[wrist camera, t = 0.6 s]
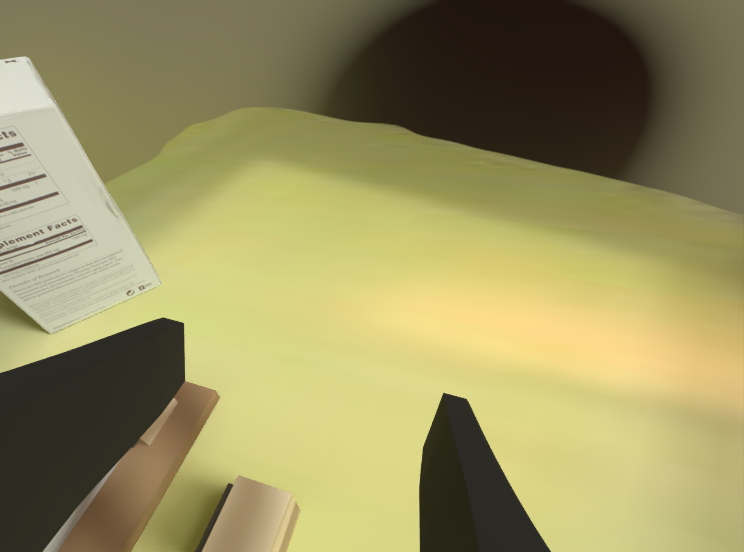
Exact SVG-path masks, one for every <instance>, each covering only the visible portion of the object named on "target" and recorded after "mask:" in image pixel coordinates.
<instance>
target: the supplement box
mask: <svg viewBox="0 0 744 552" xmlns="http://www.w3.org/2000/svg"><path fill="white" fill-rule="evenodd" d="M161 284H162V283H161V280H160V278H159V276H158V274H157V272H156V270H155V269H154V267H153V265H152V263H151V262H150V260H149V258H148V256H147V255H146V253H145V251H144V250H143V248H142V246H141V244H140V243H139V241H138V239H137V237H136V236H135V234H134V232H133V231H132V229H131V227H130V226H129V224H128V222H127V221H126V219H125V217H124V216H123V214H122V213H121V211H120V209H119V208H118V206H117V205H116V203H115V201H114V200H113V198H112V196H111V195H110V193H109V192H108V190H107V188H106V187H105V185H104V184H103V182H102V181H101V179H100V177H99V176H98V174H97V172H96V171H95V169H94V168H93V166H92V164H91V162H90V161H89V159H88V157H87V155H86V153H85V152H84V150H83V148H82V146H81V145H80V143H79V141H78V139H77V137H76V136H75V134H74V132H73V130H72V129H71V127H70V125H69V123H68V122H67V120H66V118H65V116H64V115H63V113H62V111H61V109H60V108H59V106H58V104H57V103H56V101H55V99H54V98H53V96H52V95H51V93H50V92H49V90H48V88H47V87H46V85H45V84H44V82H43V80H42V79H41V77H40V75H39V74H38V72H37V71H36V69H35V68H34V65H33V64H32V62H31V60H30V59H29V58H28V57H18V58H10V59H3V60H0V291H1V292H2V293H3V294H4V295H6V296H7V297H8V298H9V299H10V300H11V301H12V302H14V303H15V304H16V305H17V306H18V307H19V308H20V309H22V310H23V311H24V312H25V313H26V314H27V315H29V316H30V317H31V318H32V319H33V320H34V321H35V322H37V323H38V324H39V325H40V326H41V327H42V328H43V329H45V330H46V331H47V332H48V333H49V334H52V333H55V332H57V331H59V330H62V329H64V328H66V327H68V326H71V325H73V324H75V323H77V322H80V321H82V320H84V319H86V318H89V317H91V316H93V315H95V314H97V313H100V312H102V311H104V310H106V309H109V308H111V307H113V306H115V305H118V304H120V303H122V302H124V301H127V300H129V299H131V298H133V297H135V296H138V295H140V294H142V293H144V292H146V291H149V290H151V289H153V288H155V287H158V286H160V285H161Z"/></svg>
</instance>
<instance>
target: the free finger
mask: <svg viewBox="0 0 744 552" xmlns="http://www.w3.org/2000/svg"><path fill="white" fill-rule="evenodd" d="M300 511H301V510H300V509H299V507H298V505H297V503H296V501H295V500H294V498H293V496H292V494H291V493H289V492H286V491H283V490H280V489H278V488H275V487H272V486H269V485H266V484H263V483H260V482H257V481H254V480H251V479H248V478H245V477H242V476H239V475H238V476H237V479H236V481H235V483H234V485H233V484H230V483H228V485H227V487H226V489H225V491H224V493H223V495H222V498H221V500H220V502H219V504H218V506H217V508H216V510H215V512H214V514H213V516H212V518H211V520H210V522H209V524H208V527H207V529H206V531H205V533H204V535H203V537H202V539H201V541H200V543H199V545H198V547H197V549H196V551H195V552H286V551H287V548H288V545H289V542H290V540H291V537H292V534H293V531H294V528H295V525H296V522H297V519H298V517H299V514H300Z"/></svg>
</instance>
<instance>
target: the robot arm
mask: <svg viewBox="0 0 744 552" xmlns="http://www.w3.org/2000/svg"><path fill="white" fill-rule="evenodd" d="M184 382H185V353H184V323H182V322H178V321H174V320H170V319H167V318H160V319H156V320H153V321H150V322H147V323H144V324H141V325H139V326H136V327H133V328H130V329H127V330H125V331H122V332H119V333H117V334H114V335H111V336H108V337H106V338H103V339H100V340H97V341H95V342H92V343H89V344H86V345H83V346H81V347H78V348H75V349H72V350H70V351H67V352H64V353H61V354H58V355H55V356H52V357H49V358H46V359H43V360H39V361H36V362H33V363H30V364H27V365H24V366H21V367H18V368H15V369H12V370H9V371H6V372H2V373H0V552H43V551H44V549H45V548H46V547H47V546H48V544H49V543H50V542H51V540H52V539H53V538H54V537H55V535H56V534H57V533H58V531H59V530H60V529H61V528H62V526H63V525H64V524H65V522H66V521H67V520H68V519H69V517H70V516H71V515H72V513H73V512H74V511H75V510H76V508H77V507H78V506H79V505H80V504H81V503H82V501H83V500H84V499H85V498H86V497H87V496H88V494H89V493H90V492H91V491H92V490H93V489H94V488H95V486H96V485H97V484H98V483H99V482H100V481H101V480H102V479H103V478H104V477H105V476H106V475H107V473H108V472H109V471H110V470H111V469H112V468H113V467H114V466H115V465H116V464H117V463H118V461H119V460H120V459H121V458H122V457H123V456H124V455H125V454H126V453H127V452H128V451H129V450H130V448H131V447H132V446H133V445H134V444H135V443H136V442H137V441H138V440H139V439H140V438H141V436H142V435H143V434H144V433H145V432H146V431H147V430H148V429H149V428H150V426H151V425H152V424H153V423H154V422H155V421H156V420H157V419H158V418H159V416H160V415H161V414H162V413H163V412H164V410H165V409H166V407H167V406H168V405H169V403H170V402H171V401H172V399H173V398H174V396H175V395H176V394H177V392H178V391H179V389H180V388H181V386H182V385H183V383H184ZM419 509H420V552H551V551H550V550H549V548H548V547H547V545H546V544H545V542H544V540H543V539H542V537H541V536H540V534H539V533H538V531H537V529H536V528H535V526H534V525H533V523H532V521H531V520H530V518H529V516H528V515H527V513H526V511H525V510H524V508H523V506H522V505H521V503H520V501H519V499H518V498H517V496H516V494H515V492H514V491H513V489H512V487H511V485H510V484H509V482H508V480H507V478H506V476H505V474H504V472H503V471H502V469H501V467H500V465H499V463H498V461H497V459H496V458H495V456H494V454H493V452H492V450H491V448H490V446H489V444H488V442H487V440H486V438H485V436H484V434H483V432H482V429H481V427H480V425H479V423H478V421H477V419H476V417H475V415H474V413H473V410H472V408H471V406H470V404H469V402H468V401H467V399H465V398H461V397H457V396H453V395H450V394H446V393H443V396H442V398H441V401H440V404H439V406H438V409H437V412H436V414H435V417H434V420H433V422H432V425H431V428H430V430H429V433H428V436H427V438H426V441H425V444H424V446H423V454H422V463H421V474H420V485H419Z"/></svg>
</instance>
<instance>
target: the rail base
mask: <svg viewBox="0 0 744 552" xmlns="http://www.w3.org/2000/svg"><path fill="white" fill-rule="evenodd" d="M219 398H220V397H219V395H218V394H217V392H216V390H212V389H209V388H206V387H202V386H199V385H196V384H193V383H189V382H186V381H185V382H184V383H183V385H182V386H181V388H180V389H179V391H178V392H177V394H176V395H175V396H174V398H173V399H172V401H171V402H170V403H169V405H168V406H167V407H166V409H165V410H164V412H163V413H162V414H161V415H160V416H159V418H158V419H157V420H156V421H155V422H154V423H153V424H152V425H151V426H150V428H149V429H148V430H147V431H146V432H145V433H144V434H143V435H142V436H141V438H140V439H139V440H138V441H137V442H136V443H135V444H134V445H133V446H132V447H131V448H130V450H129V451H128V452H127V453H126V454H125V455H124V456H123V457H122V458H121V459H120V460H119V461H118V463H117V464H116V465H115V466H114V467H113V468H112V469H111V470H110V471H109V472H108V473H107V475H106V476H105V477H104V478H103V479H102V480H101V481H100V482H99V483H98V484H97V485H96V486H95V488H94V489H93V490H92V491H91V492H90V493H89V494H88V496H87V497H86V498H85V499H84V500H83V501H82V503H81V504H80V505H79V506H78V507H77V508H76V510H75V511H74V512H73V513H72V515H71V516H70V517H69V519H68V520H67V521H66V522H65V524H64V525H63V526H62V528H61V529H60V530H59V531H58V533H57V534H56V535H55V537H54V538H53V539H52V540H51V542H50V543H49V544H48V546H47V547H46V548H45V549H44V551H43V552H131V551H132V549H133V547H134V545H135V544H136V542H137V540H138V539H139V537H140V535H141V533H142V532H143V530H144V528H145V526H146V525H147V523H148V521H149V519H150V518H151V516H152V514H153V513H154V511H155V509H156V507H157V506H158V504H159V502H160V500H161V499H162V497H163V495H164V494H165V492H166V490H167V488H168V487H169V485H170V483H171V481H172V480H173V478H174V476H175V474H176V473H177V471H178V469H179V468H180V466H181V464H182V462H183V461H184V459H185V457H186V455H187V454H188V452H189V450H190V449H191V447H192V445H193V443H194V442H195V440H196V438H197V436H198V435H199V433H200V431H201V429H202V428H203V426H204V424H205V423H206V421H207V419H208V417H209V416H210V414H211V412H212V410H213V409H214V407H215V405H216V404H217V402H218V400H219Z"/></svg>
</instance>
